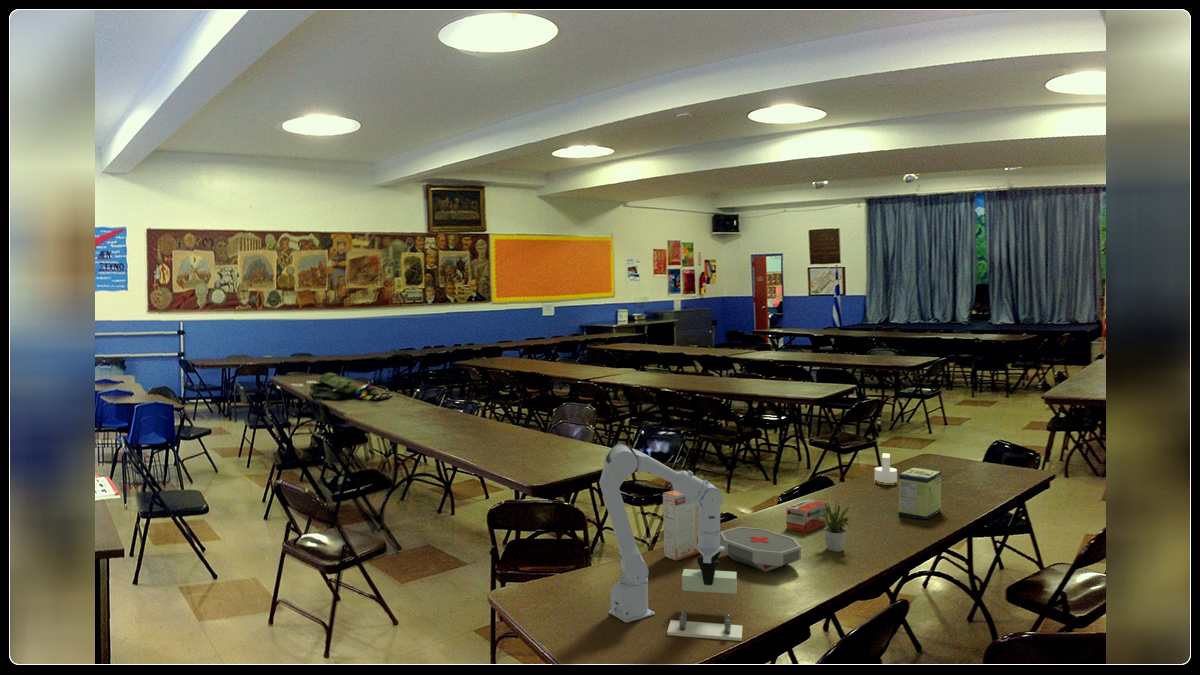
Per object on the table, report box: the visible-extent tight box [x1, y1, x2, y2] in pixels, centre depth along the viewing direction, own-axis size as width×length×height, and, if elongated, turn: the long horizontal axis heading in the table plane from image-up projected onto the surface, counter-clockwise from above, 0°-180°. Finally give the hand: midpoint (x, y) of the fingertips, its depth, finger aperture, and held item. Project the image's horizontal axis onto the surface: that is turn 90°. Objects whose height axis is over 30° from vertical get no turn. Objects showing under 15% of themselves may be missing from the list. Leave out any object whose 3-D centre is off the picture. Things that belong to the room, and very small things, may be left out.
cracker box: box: [662, 489, 700, 562], centre depth 253 cm, size 14×6×21 cm, turn 130°
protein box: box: [897, 466, 942, 520], centre depth 295 cm, size 10×16×16 cm
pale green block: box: [681, 568, 738, 595], centre depth 210 cm, size 14×5×4 cm, turn 78°
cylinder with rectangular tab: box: [874, 452, 898, 483], centre depth 341 cm, size 9×9×12 cm
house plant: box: [812, 499, 855, 552], centre depth 257 cm, size 14×14×16 cm
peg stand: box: [666, 610, 744, 642], centre depth 197 cm, size 18×7×4 cm, turn 78°
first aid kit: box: [720, 526, 802, 573], centre depth 245 cm, size 18×8×25 cm
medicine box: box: [785, 498, 829, 534], centre depth 282 cm, size 15×8×8 cm, turn 136°
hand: (709, 580), depth 210 cm, fingers closed on pale green block, 5 cm apart
